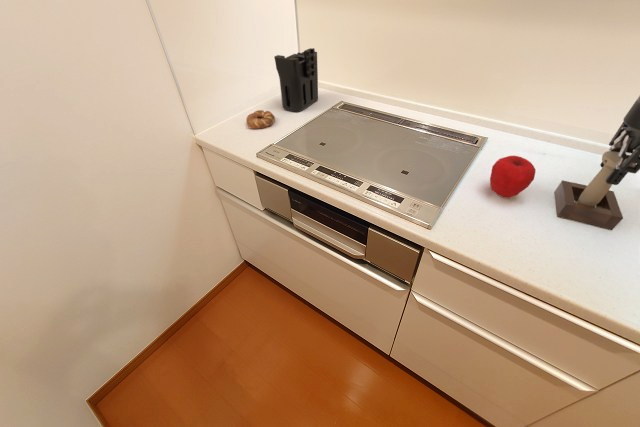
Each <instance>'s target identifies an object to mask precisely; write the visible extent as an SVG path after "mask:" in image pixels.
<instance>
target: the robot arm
mask: <svg viewBox="0 0 640 427" xmlns="http://www.w3.org/2000/svg"><path fill="white" fill-rule="evenodd" d="M608 146H610V147H609V148H608V151H615V152H620V153H619V155H618V157H619V158H620V159H619V161H618V163H617V165H616V167H615V168H614V170H613V171H612V172H611V173H610V175H609V176H608V177H607V179H606V183H608V184H612V186H617V185H620V183H621V182H622V181H623V179H625V177H626V176H627V174H629V173H630V174H633V175H635V174H637V173H638V171H640V95H639V96H638V97H637V99H636V100H635V102H634V103H633V104H632V106H631V107H630V109H629V110H628V112H626V114H625V116H624V117H623V121H622V123H621V125H620V126H619V127H618V129H617V131H616V132H615V134H614V135H613V137H612V138H611V140H610V142H609V143H608ZM625 159H627V160H626V161H625ZM624 161H625V162H624ZM603 166H604V164H603V162H602V161H601V163H600V168H601V169H602V168H603Z"/></svg>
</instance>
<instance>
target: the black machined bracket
mask: <svg viewBox="0 0 640 427" xmlns="http://www.w3.org/2000/svg"><path fill="white" fill-rule="evenodd" d="M315 49H316V48H314V47H313V48H312V47H311V48H308V49H307V48H306V49H305V50H304V51H302V52H297V53H293V54H291V55H289V56H286V57H285V55H281V54H276V55H274V56H273V58H274V63H275V69H276V71H277V74H278V78H279V86H280V87H279V88H280V96H281V105H282V109H283V110H285V111H289V112H292V113H293V112H295V113H299V112H302V111H303V110H305V109H306V108H308V107H309V106H311V105H312V104H314V103H316V102H318V101H319V87H318V86H319V72H318V71H319V70H318V51H316V50H315Z"/></svg>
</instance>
